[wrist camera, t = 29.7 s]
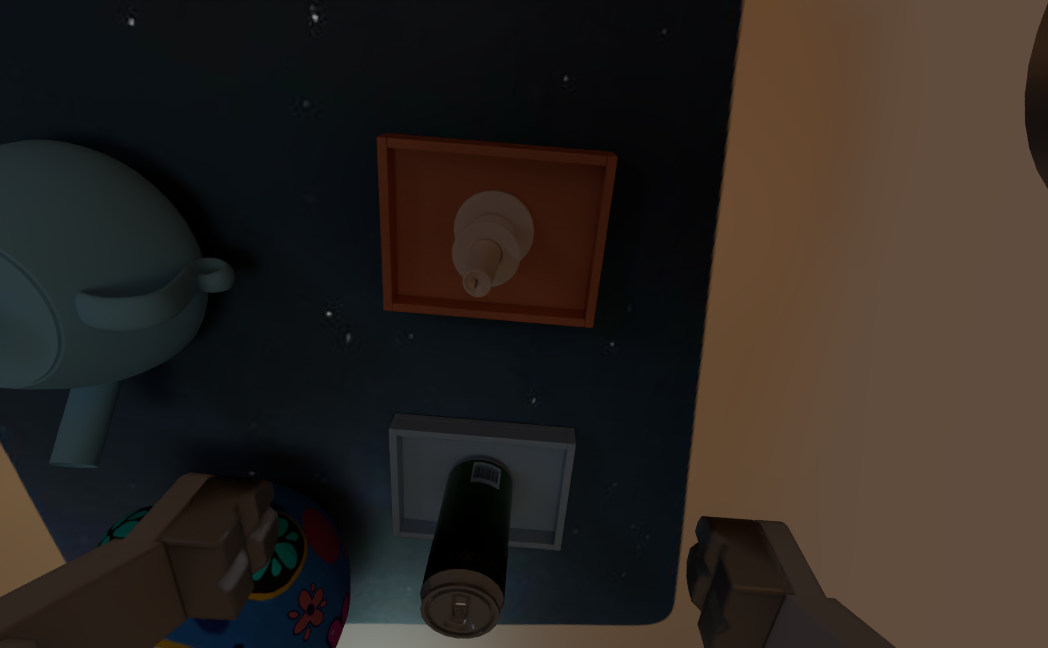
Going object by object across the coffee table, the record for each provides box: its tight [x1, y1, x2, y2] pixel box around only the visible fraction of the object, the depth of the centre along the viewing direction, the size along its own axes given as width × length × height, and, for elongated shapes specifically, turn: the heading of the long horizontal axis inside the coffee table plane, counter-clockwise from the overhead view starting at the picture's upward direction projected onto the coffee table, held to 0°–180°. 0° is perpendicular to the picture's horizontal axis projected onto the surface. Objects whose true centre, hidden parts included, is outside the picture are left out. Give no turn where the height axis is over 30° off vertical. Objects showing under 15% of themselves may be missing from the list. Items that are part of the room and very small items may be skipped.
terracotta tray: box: [377, 133, 618, 328], centre depth 35 cm, size 14×11×2 cm
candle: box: [452, 190, 534, 297], centre depth 30 cm, size 5×5×10 cm
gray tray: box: [389, 413, 576, 550], centre depth 44 cm, size 14×11×2 cm
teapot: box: [0, 139, 235, 468], centre depth 32 cm, size 20×20×13 cm
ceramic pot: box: [98, 483, 350, 648], centre depth 41 cm, size 18×18×15 cm
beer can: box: [420, 457, 513, 638], centre depth 39 cm, size 5×5×12 cm
